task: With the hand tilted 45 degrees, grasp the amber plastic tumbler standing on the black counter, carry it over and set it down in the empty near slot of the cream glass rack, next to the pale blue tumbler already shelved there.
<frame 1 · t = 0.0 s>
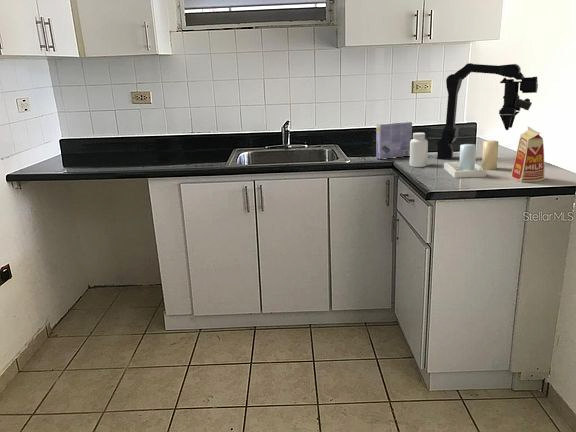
hand: (508, 128, 224), 15 cm above the worktop, tool pointing down, fingers open, 9 cm apart
blue tumbler: (466, 174, 203), resting on glass rack
glass rack: (463, 173, 207), on the worktop
milk carton: (527, 180, 190), on the worktop
amber tumbler: (489, 169, 212), on the worktop
pill bottle: (418, 166, 228), on the worktop
cake pan box: (394, 158, 252), on the worktop
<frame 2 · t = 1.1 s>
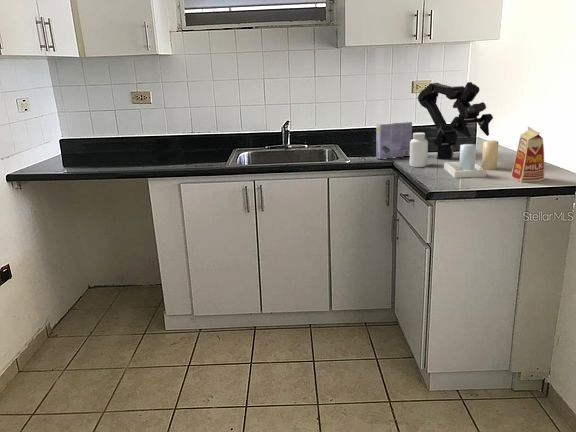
hand: (479, 136, 215), 13 cm above the worktop, tool tilted 45°, fingers open, 9 cm apart
nothing on the worktop moved.
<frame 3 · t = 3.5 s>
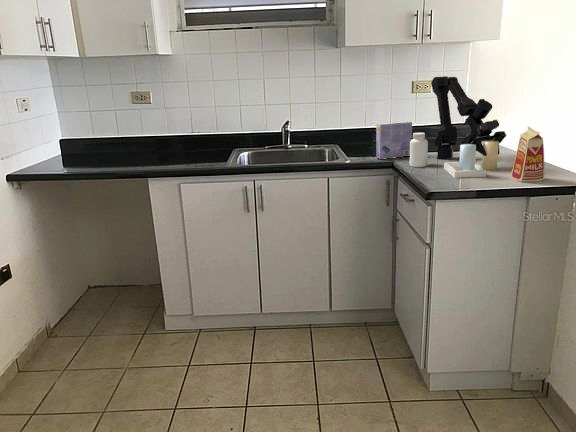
hand: (492, 154, 208), 7 cm above the worktop, tool tilted 45°, fingers closed on amber tumbler, 6 cm apart
amber tumbler: (489, 169, 212), on the worktop, touching gripper
everything else where it was.
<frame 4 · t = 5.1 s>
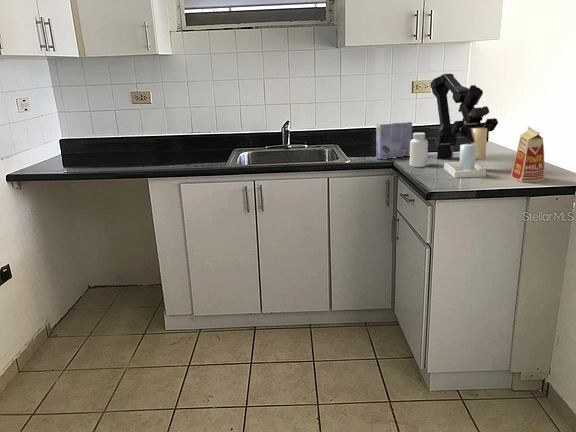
hand: (480, 141, 206), 12 cm above the worktop, tool tilted 45°, fingers closed on amber tumbler, 6 cm apart
amber tumbler: (478, 157, 209), point 6 cm above the worktop, touching gripper
everything else where it was.
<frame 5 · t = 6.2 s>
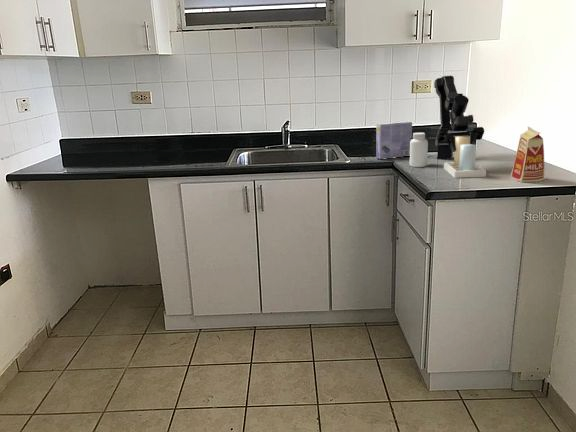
hand: (462, 150, 207), 9 cm above the worktop, tool tilted 45°, fingers closed on amber tumbler, 6 cm apart
amber tumbler: (461, 165, 211), point 3 cm above the worktop, touching gripper
everything else where it was.
when the fingers open (9 cm above the worktop, at t = 6.7 s): amber tumbler drops 2 cm, resting on glass rack.
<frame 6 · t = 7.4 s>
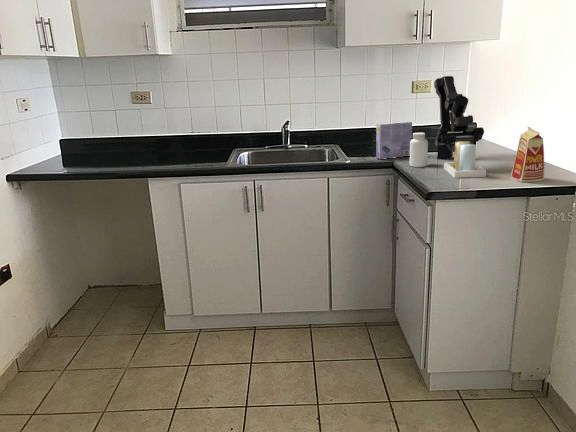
hand: (462, 150, 208), 9 cm above the worktop, tool tilted 45°, fingers open, 9 cm apart
amber tumbler: (461, 170, 211), point 1 cm above the worktop, touching glass rack
everything else where it was.
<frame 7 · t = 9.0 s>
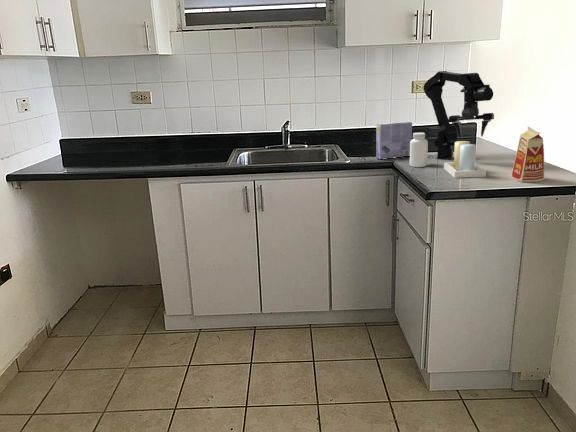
hand: (471, 137, 225), 12 cm above the worktop, tool pointing down, fingers open, 9 cm apart
nothing on the worktop moved.
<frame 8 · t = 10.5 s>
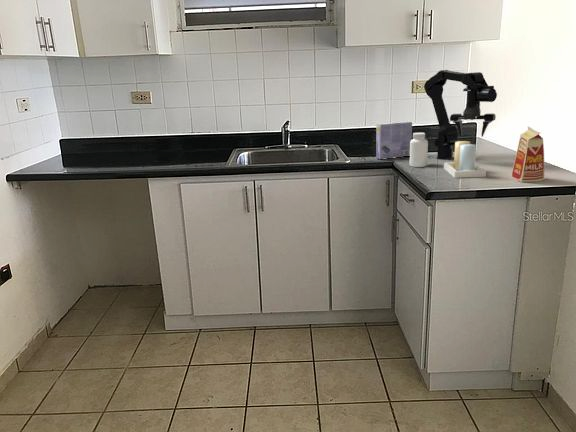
hand: (471, 136, 226), 12 cm above the worktop, tool pointing down, fingers open, 9 cm apart
nothing on the worktop moved.
at the end: amber tumbler 0.0 cm from the target spot, point 0.5 cm above the worktop; amber tumbler tilted 1°; the gripper is holding nothing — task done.
